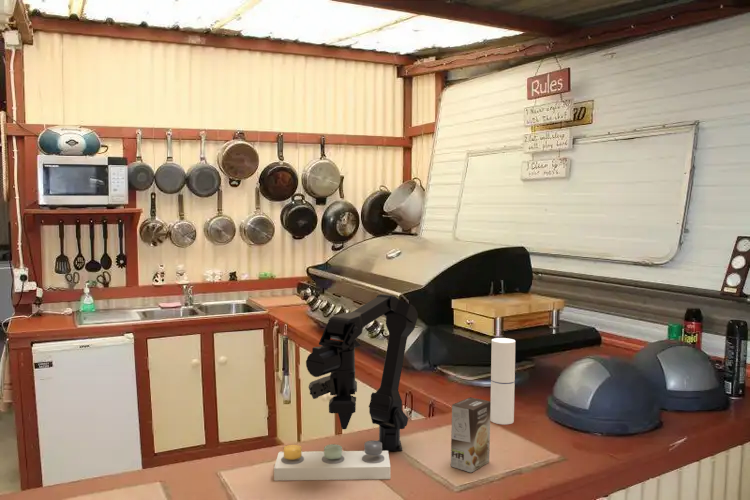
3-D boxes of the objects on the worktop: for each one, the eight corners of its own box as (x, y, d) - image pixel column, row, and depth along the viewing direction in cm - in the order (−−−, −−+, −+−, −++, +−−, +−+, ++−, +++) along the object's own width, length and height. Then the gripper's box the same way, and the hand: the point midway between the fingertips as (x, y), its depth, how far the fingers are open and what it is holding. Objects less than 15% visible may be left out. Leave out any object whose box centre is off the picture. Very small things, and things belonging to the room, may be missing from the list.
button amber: (284, 454, 156) (284, 444, 155) (302, 453, 156) (302, 444, 156) (282, 461, 151) (282, 451, 151) (300, 461, 151) (300, 451, 151)
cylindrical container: (487, 422, 190) (488, 341, 188) (494, 415, 196) (495, 337, 194) (510, 425, 186) (511, 343, 184) (516, 418, 193) (518, 339, 191)
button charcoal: (364, 449, 156) (364, 440, 156) (381, 449, 157) (381, 440, 156) (364, 456, 152) (364, 447, 152) (382, 456, 152) (382, 447, 152)
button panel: (278, 463, 159) (278, 451, 158) (388, 461, 160) (388, 449, 159) (274, 480, 149) (273, 467, 148) (390, 479, 150) (390, 466, 150)
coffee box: (472, 473, 153) (473, 410, 152) (450, 466, 157) (450, 404, 156) (490, 461, 160) (491, 401, 159) (468, 455, 164) (469, 396, 163)
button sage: (324, 453, 156) (324, 444, 156) (342, 453, 156) (342, 444, 156) (323, 460, 152) (323, 451, 151) (341, 460, 152) (341, 451, 152)
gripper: (314, 357, 162) (315, 415, 163) (306, 378, 143) (307, 444, 144) (356, 357, 162) (357, 415, 163) (354, 378, 143) (355, 443, 145)
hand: (344, 428), depth 154 cm, fingers closed
